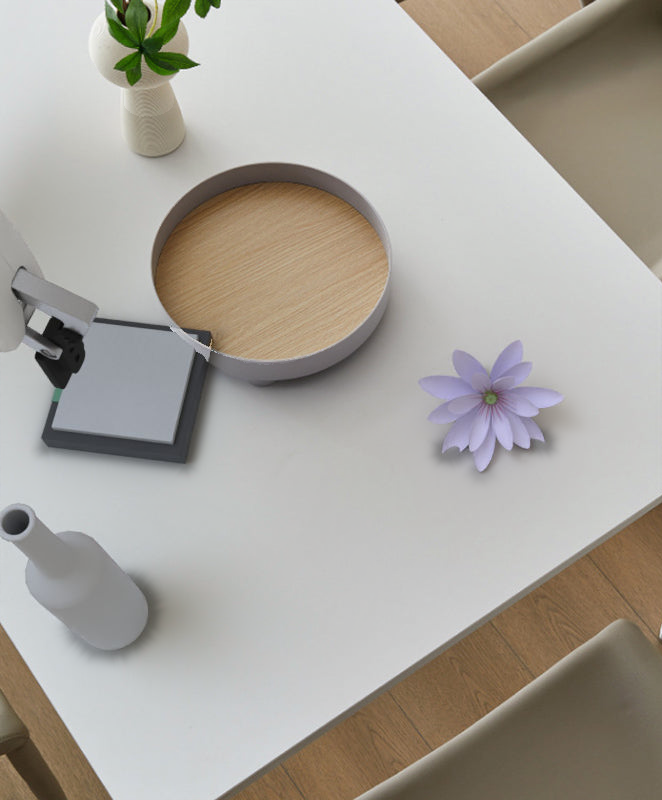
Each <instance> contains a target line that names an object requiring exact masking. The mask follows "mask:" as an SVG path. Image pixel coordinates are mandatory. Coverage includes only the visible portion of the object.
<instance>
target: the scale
mask: <svg viewBox="0 0 662 800" xmlns="http://www.w3.org/2000/svg"><path fill="white" fill-rule="evenodd" d="M169 326H170V325H161V324H154V323H146V322H138V321H128V320H120V319H113V318H104V317H96V316H95V318H94V320H93V323H92V325H91V327H90V329H89V330H88V332H87V334H86V335H85V337H84V338H83V340H82V341H83V343H84V349H85V360H84V362H83V365H82V367H81V369H80V370H79V372H78V373H76V374H74V373H73V374H72V376H71V378H70V380H69V382H68V384H67V386H66V388H65V389H59V388H56V387H54V388H55V389H54V390H53V394H52V398H51V404H50V407H49V410H48V414H47V417H46V420H45V424H44V427H43V430H42V433H41V437H40V440H42V441H43V443H44V444H45V445H46V446H47V448H54V449H62V450H69V451H79V452H84V453H85V452H86V453H95V454H101V455H110V456H117V457H118V456H119V457H127V458H134V459H142V460H149V461H159V462H166V463H175V464H181V465H185V464H186V462H187V458H188V453H189V450H190V449H189V448H190V445H191V441H192V436H193V432H194V429H195V424H196V419H197V415H198V411H199V406H200V402H201V398H202V393H203V389H204V384H205V380H206V377H207V372H208V368H209V363H210V361H209V362H207V361H206V359H205V357H204V356H203V355H202V354H200V353H198V352H196V350H195V348H194V347H193V346H192V345H190V344H189V343H187V342H186V341H185V340H183V339H182V338H181V337H180V336H179V335H178V334H177V333H176V332H173V331H172V330H171V329H170V327H169ZM180 328H181V329H182V330H183V331H184V332H186V333H187V334H188V335H189V336H190V337H192V338H193V339H195V340H197V341H199V342H201V343H202V344H204V345H206V346H208V347H209V346H210V343H211V339H212V338H213V334H212V332H211V331H210V330H203V329H195V328H188V327H180ZM213 341H214V340H213ZM213 341H212V342H213ZM213 343H214V342H213ZM211 346H212V345H211Z"/></svg>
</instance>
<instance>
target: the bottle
mask: <svg viewBox="0 0 662 800" xmlns="http://www.w3.org/2000/svg"><path fill="white" fill-rule="evenodd" d="M0 539H2V540H3V541H6V542H9V543H12V544H13V545H14V546H15V547H16V548H17V549H18V550H19V551H20V552H21V553H22V554H23V555H25V556H26V558H27V562H26V566H25V569H24V579H25V580H24V581H25V585H26V587H27V590H28V592H29V594H30V595H31V596H32V597H33V598H34V600H35V601H37V603H39V604H40V606H42V607H43V608H44V609H45V610H47V611H48V612H49V613H50V614H51V615H53V616H54V618H56V619H57V620H59V622H61V623H62V624H63V625H65V626H66V627H67V628H68V629H70V631H72V632H73V633H74V634H76V635H77V636H78V637H79V638H80V639H82V640H83V641H84V642H85V643H87V644H88V645H90V646H91V647H93V648H95V649H98V650H102V651H117V650H121V649H123V648H125V647H128V646H129V645H131V644H132V643H133V642H135V641H136V640H137V639H138V638H139V637H140V635H141V634H142V633H143V631H144V630H145V627H146V625H147V623H148V619H149V604H148V601H147V598H146V597H145V595H144V593H143V591H142V590H141V589H140V588H139V587H138V585H137V584H136V583H135V581H133V580H132V578H130V576H129V575H128V574H127V573H126V572H125V570H123V568H122V567H121V566H120V565H119V564H118V563H117V562H116V561H115V560H114V559H113V557H112V556H110V554H109V553H108V552H107V551H106V550H105V549H104V548H103V546H102V545H101V544H100V543H99V542H98V541H97V540H95V538H94V537H92V536H90V535H88V534H86V533H84V532H82V531H74V530H67V531H61V532H56V533H54V532H53V531H52V530H51V529H50V528H49V527H48V526H47V525H46V524H45V523H44V522H43V521H41V520H40V518H39V517H37V515H36V512H35V510H34V509H33V508H32V507H31V506H30V505H28V504H26V503H22V502H21V503H20V502H17V503H12V504H10V505H8V506H5V507H4V508H3V509H2V510H1V511H0Z"/></svg>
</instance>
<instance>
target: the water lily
mask: <svg viewBox="0 0 662 800" xmlns="http://www.w3.org/2000/svg"><path fill="white" fill-rule="evenodd" d="M523 358H524V346H523V342H522V341H521V339H516V340H514V341H512V342H510V343H509V344H508V345H507V346H505V348H504V349H503V350H502V351H501V352H500V354H499V355H498V357H497V358H496V360H495V362H494V363H493V365H492V367H491V370H490V374H489V375H488V372H487V370H486V368H485V367H484V366H483V365H482V363H481V362H480V361H479V360H478V359H477V358H476V357H475V356H473V355H472V354H471V353H469V352H467V351H465V350H462V349H457V348H456V349H454V350H453V351H452V355H451V360H452V365H453V368H454V370H455V372H456V373H457V375H458V376H455V375H445V374H434V375H433V374H432V375H426V376H423V377H421V378H419V379H418V380H417V384H418V385H419V387H420V388H421V389H422V390H423V391H424V392H425V393H427V394H428V395H430V396H432V397H434V398H437V399H441V400H445V401H444V402H442V403H440V404H438V406H437V407H435V408H434V409H433V410H432V411H431V412H430V413H429V414H428V416H427V417H426V419H427V421H428V422H430V423H433V424H438V425H439V424H441V425H442V424H449V423H451V422H454V423H453V425H452V426H451V427H450V428H449V430H448V432H447V435H446V436H445V439H444V440H443V445H442V450H441V453H442V454H444V453H445V452H446V451H447V450H448V449H450V448H453V447H456V448H458V449H459V453H461V452H462V451H463V450H465V449H466V448H467V447H468V449H469V452H470V453H472V455H473V461H474V465H475V467H476V470H478V472H480V473H481V472H483V471H484V470H485V469H486V468H487V467H488V466H489V464H490V462H491V461H492V458H493V455H494V451H495V447H496V439H497V441H498V442H499V444H500V445H501V446H502V447H503V448H504V449H505V450H507V451H512V450H513V446H514V444H515V445H517V446H519V448H523V449H526V450H528V449H530V447H531V439H534V440H538V441H541V442H542V443H546V441H545V437H544V434H543V432H542V430H541V428H540V427H539V426H538V424H537V423H536V421H534V420H533V419H532V417H533V418H534V417H535V416H537V415H539V413H540V410H539V409H547V408H549V407H554V406H556V405H558V404H559V403H561V402H563V400H564V399H565V396H564V395H563V394H562V393H560V392H559V391H557V390H554V389H551V388H548V387H541V386H519V385H521V384H522V383H523V382H524V381H526V380H527V378H528V377H529V375H530V373H531V372H532V368H533V363H532V361H522V360H523Z"/></svg>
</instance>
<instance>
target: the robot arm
mask: <svg viewBox="0 0 662 800" xmlns="http://www.w3.org/2000/svg"><path fill="white" fill-rule="evenodd" d="M36 309H37V310H39V311H41V312H43V313H45V314H46V315H48V316H49V319H48V322H47V324H46V326H45V328H44V329H43V331H42V333H40V332H38V331H37V330H35V329H33V328H32V327H30V326H29V323H30V321H31V319H32V317H33V316H34V313H35V311H36ZM99 310H100V307H99V306H98V305H97V304H95V303H94V302H92V301H91V300H88V299H86V298H84V297H83V296H80V295H78V294H76V293H74V292H72V291H70V290H67V289H65V288H63V287H61V286H59V285H57V284H55V283H53V282H51V281H49V280H46V277H45V274H44V273H43V271H42V268H41V266H40V265H39V262H38V261H37V259H36V257H35V256H34V254H33V252H32V251H31V248H30V247H29V246H28V244H27V243H26V240H25V239H24V238H23V237H22V235H21V234H20V232H19V231H18V230H17V229H16V227H15V226H14V225H13V223H12V221H11V220H10V219H9V217H8V216H7V215H6V214H5V213H4V211H3V210H2V208H0V353H9V352H14V351H16V350H17V349H18V348H19V347H20V345H21V343H23V344H25V345H26V346H28V347H29V348H31V349H32V350H34V351H35V353H34V360H35V362H36V363H37V364H38V366H39V368H40V369H41V370H42V372H43V373H44V375H45V377H46V378H47V379H48V380H49V382H50V383H51V385H52V386H53V388H59V389H65V388H66V386H67V384H68V382H69V380H70V378H71V376H72V374H73V373H74V374H76V373H78V372H79V370H80V369H81V367H82V365H83V362H84V360H85V349H84V343H83V341H82V340H83V338H84V337H85V335H86V334H87V332H88V330H89V329H90V327H91V325H92V323H93V320H94V318H95V317H96V316H97V314H98V312H99Z"/></svg>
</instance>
